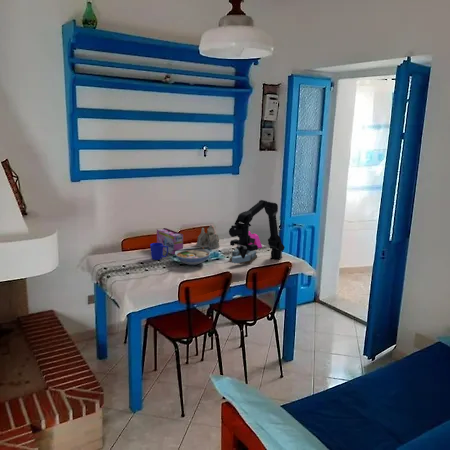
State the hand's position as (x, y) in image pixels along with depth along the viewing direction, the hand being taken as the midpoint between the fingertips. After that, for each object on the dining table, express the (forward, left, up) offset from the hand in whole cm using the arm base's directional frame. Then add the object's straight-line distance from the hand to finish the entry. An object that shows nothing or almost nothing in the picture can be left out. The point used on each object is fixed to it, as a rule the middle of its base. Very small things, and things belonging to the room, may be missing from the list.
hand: (243, 258), depth 279 cm
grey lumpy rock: (+42, -37, -7) cm, 56 cm away
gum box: (+61, -15, -7) cm, 63 cm away
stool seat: (+6, -17, -7) cm, 20 cm away
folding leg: (+4, -8, -5) cm, 10 cm away
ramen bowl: (+33, +4, -7) cm, 34 cm away
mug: (+57, +5, -7) cm, 58 cm away
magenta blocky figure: (+12, -49, -7) cm, 51 cm away
